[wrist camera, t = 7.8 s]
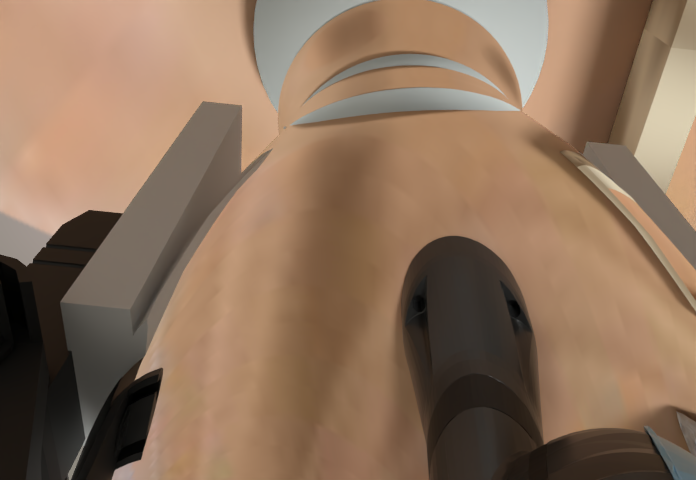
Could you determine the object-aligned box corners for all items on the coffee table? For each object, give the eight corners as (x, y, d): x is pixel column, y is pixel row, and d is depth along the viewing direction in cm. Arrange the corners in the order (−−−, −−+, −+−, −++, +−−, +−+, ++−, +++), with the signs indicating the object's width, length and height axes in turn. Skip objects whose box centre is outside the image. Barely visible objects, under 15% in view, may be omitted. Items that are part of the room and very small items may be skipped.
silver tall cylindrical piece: (490, -79, 14) (1467, 544, 2) (568, 188, 18) (1096, 1124, 5) (212, 45, 16) (-476, 862, 3) (329, 269, 19) (230, 1134, 6)
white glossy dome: (259, -140, 21) (256, -140, 20) (579, -105, 21) (584, -104, 20) (253, 156, 26) (251, 162, 25) (509, 182, 26) (511, 189, 25)
